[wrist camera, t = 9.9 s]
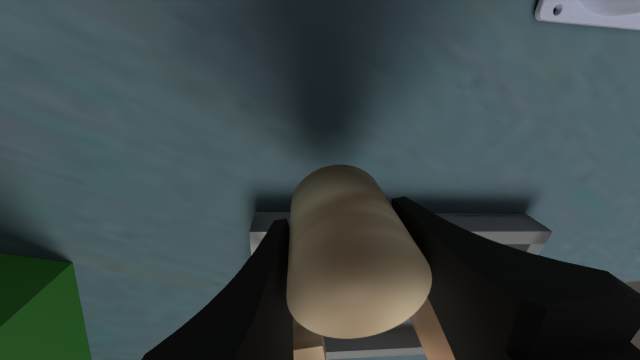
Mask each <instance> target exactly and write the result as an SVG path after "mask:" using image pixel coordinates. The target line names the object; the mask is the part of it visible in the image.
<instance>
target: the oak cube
mask: <svg viewBox="0 0 640 360" xmlns="http://www.w3.org/2000/svg"><path fill="white" fill-rule="evenodd" d="M293 353H294V360H326V351H325V340H324V336H323V335H319V334H317V333H314V332H312V331H310V330H308V329H306V328H305V327H303V326H302V325H300V324H299V323H298V322H297V321H296V320H295V318H294V317H293Z"/></svg>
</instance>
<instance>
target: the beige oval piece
mask: <svg viewBox="0 0 640 360" xmlns="http://www.w3.org/2000/svg"><path fill="white" fill-rule="evenodd" d="M431 284H432V273H431V269H430V266H429V264H428V262H427V260H426V259H425V257H424V256H423V254H422V252H421V251H420V249H419V248H418V246H417V245H416V243H415V242H414V240H413V238H412V237H411V235H410V234H409V232H408V231H407V229H406V228H405V226H404V224H403V223H402V221H401V220H400V218H399V217H398V215H397V214H396V212H395V210H394V209H393V207H392V206H391V204H390V203H389V201H388V200H387V198H386V196H385V195H384V193H383V192H382V190H381V189H380V187H379V185H378V184H377V182H376V181H375V180H374V178H372V177H371V176H370V175H369V174H368V173H367V172H365V171H363V170H361V169H359V168H357V167H354V166H349V165H331V166H327V167H323V168H320V169H318V170H316V171H314V172H312V173H311V174H309V175H308V176H307V177H305V178H304V179H303V180H302V181H301V182H300V184H299V185H298V186H297V188H296V190H295V192H294V194H293V197H292V201H291V214H290V234H289V253H288V273H287V293H286V298H287V305H288V308H289V311H290V312H291V314H292V316H293V317H294V318H295V320H296V321H297V322H298V323H299V324H300V325H302V326H303V327H305V328H306V329H308V330H310V331H312V332H314V333H317V334H319V335H323V336H327V337H332V338H342V339H352V338H362V337H368V336H372V335H376V334H379V333H382V332H385V331H387V330H390V329H392V328H394V327H396V326H398V325H400V324H401V323H403V322H404V321H406V320H407V319H408V318H410V317H411V316H412V315H413V314H414V313H415V312H416V311H418V309H419V308H420V307H421V306H422V305H423V303H424V302H425V300H426V298H427V296H428V294H429V292H430V288H431Z"/></svg>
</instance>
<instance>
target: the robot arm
mask: <svg viewBox="0 0 640 360" xmlns="http://www.w3.org/2000/svg"><path fill="white" fill-rule="evenodd" d="M554 8H556V11H555V13H554V14H553V9H554ZM535 17H536V19H537V20H539V21H547V22H557V23H568V24H578V25H589V26H599V27H610V28H620V29H631V30H640V0H539V2H538V5H537V8H536V11H535ZM392 207H393V209H394V210H395V212H396V214H397V215H398V217H399V218H400V220H401V221H402V223H403V224H404V226H405V228H406V229H407V231H408V232H409V234H410V235H411V237H412V238H413V240H414V242H415V243H416V245H417V246H418V248H419V249H420V251H421V252H422V254H423V256H424V257H425V259H426V260H427V262H428V264H429V266H430V269H431V273H432V284H431V288H430V292H429V294H428V296H427V298H428V299H429V301H430V304H431V306H432V308H433V310H434V312H435V314H436V317H437V319H438V321H439V323H440V325H441V328H442V330H443V332H444V335H445V337H446V339H447V341H448V344H449V346H450V348H451V351H452V353H453V355H454V358H455V360H640V350H639V349H638V348H637V347H636V346H634V345H633V344H632V343H631V342H630V341H631V340H632V338H633V337H634V336H635V334H636V333H637V331H638V330H639V329H640V294H639V293H638V292H636V291H635V290H634V289H632V288H631V287H629V286H628V285H626V284H625V283H623V282H622V281H621V280H619V279H618V278H616V277H615V276H613V275H612V274H610V273H609V272H607V271H604V270H599V269H594V268H590V267H585V266H581V265H576V264H571V263H567V262H562V261H558V260H554V259H551V258H547V257H543V256H540V255H536V254H532V253H529V252H526V251H522V250H519V249H516V248H513V247H510V246H507V245H504V244H501V243H498V242H495V241H493V240H490V239H487V238H485V237H482V236H480V235H477V234H475V233H472V232H470V231H468V230H466V229H463V228H461V227H459V226H457V225H455V224H453V223H451V222H449V221H447V220H445V219H443V218H441V217H440V216H438V215H436V214H434V213H432V212H431V211H429V210H427V209H425V208H424V207H422V206H420V205H418V204H417V203H415V202H413V201H412V200H410V199H408V198H406V197H399V198H393V199H392ZM289 234H290V228H289V224H288V220H287V218H284V219H278V220H274V221H273V223H272V224H271V226H270V228H269V229H268V231H267V233H266V234H265V236H264V237H263V239H262V240H261V242H260V243H259V245H258V246H257V248H256V249H255V251H254V252H253V254H252V255H251V256H250V258H249V259H248V260H247V262H246V263H245V265H244V266H243V267H242V268H241V270H240V271H239V272H238V273H237V274H236V276H235V277H234V278H233V279H232V280H231V281H230V282H229V283H228V284H227V286H226V287H225V288H224V289H223V290H222V291H221V292H220V293H219V294H218V295H217V296H215V297H214V298H213V299H212V300H211V301H210V302H209V303H208V304H207V305H206V306H205V307H204V308H203V309H202V310H201V311H200V312H198V313H197V314H196V315H195V316H194V317H193V318H191V319H190V320H189V321H188V322H187V323H185V324H184V325H183V326H182V327H181V328H179V329H178V330H177V331H176V332H174V333H173V334H172V335H170V336H169V337H168V338H166V339H165V340H164V341H162V342H161V343H160V344H158V345H157V346H156V347H154V348H153V349H152V350H150V351H149V352H147V353H146V354H145V355H144V357H143V358H142V360H294V353H293V316H292V314H291V312H290V311H289V308H288V305H287V298H286V293H287V273H288V253H289Z"/></svg>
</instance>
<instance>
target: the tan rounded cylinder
mask: <svg viewBox="0 0 640 360" xmlns="http://www.w3.org/2000/svg"><path fill="white" fill-rule="evenodd" d="M410 320H411V322H412V325H413V327H414V329H415V331H416V334H417V336H418V338H419V340H420V343H421V345H422V347H423V350H424V352H425V354H426V356H427V359H428V360H455V358H454V355H453V353H452V351H451V348H450V346H449V344H448V341H447V339H446V337H445V335H444V332H443V330H442V328H441V325H440V323H439V321H438V319H437V317H436V314H435V312H434V310H433V308H432V306H431V304H430V301H429V299H428V298H426V300H425V302H424V303H423V305H422V306H421V307H420V308H419V309H418V311H416V312H415V313H414V314H413V315H412V316H411V317H410Z"/></svg>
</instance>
